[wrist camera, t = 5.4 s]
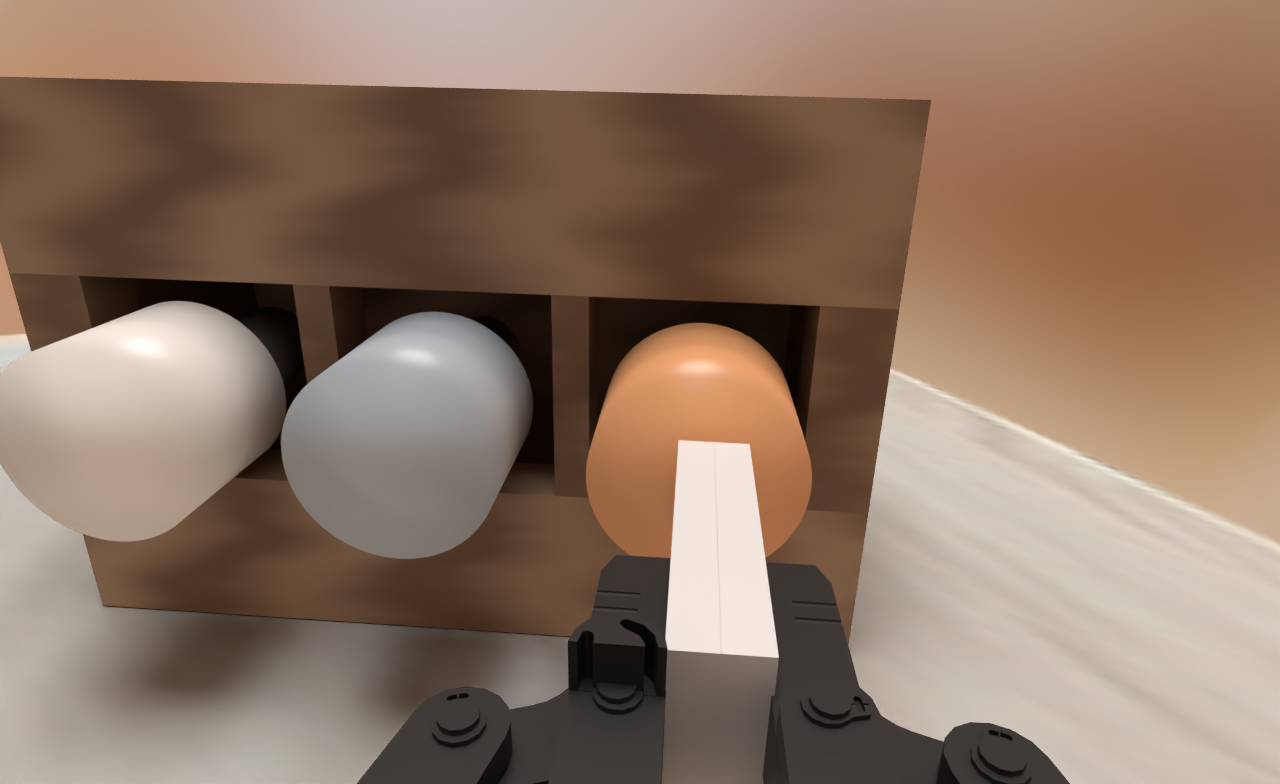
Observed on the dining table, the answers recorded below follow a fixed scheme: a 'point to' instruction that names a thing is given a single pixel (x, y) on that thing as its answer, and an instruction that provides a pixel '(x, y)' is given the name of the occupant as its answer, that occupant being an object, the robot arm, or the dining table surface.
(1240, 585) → the dining table surface
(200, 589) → the panel
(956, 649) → the dining table surface
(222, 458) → the white button
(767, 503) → the orange button
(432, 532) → the grey button
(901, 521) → the dining table surface
